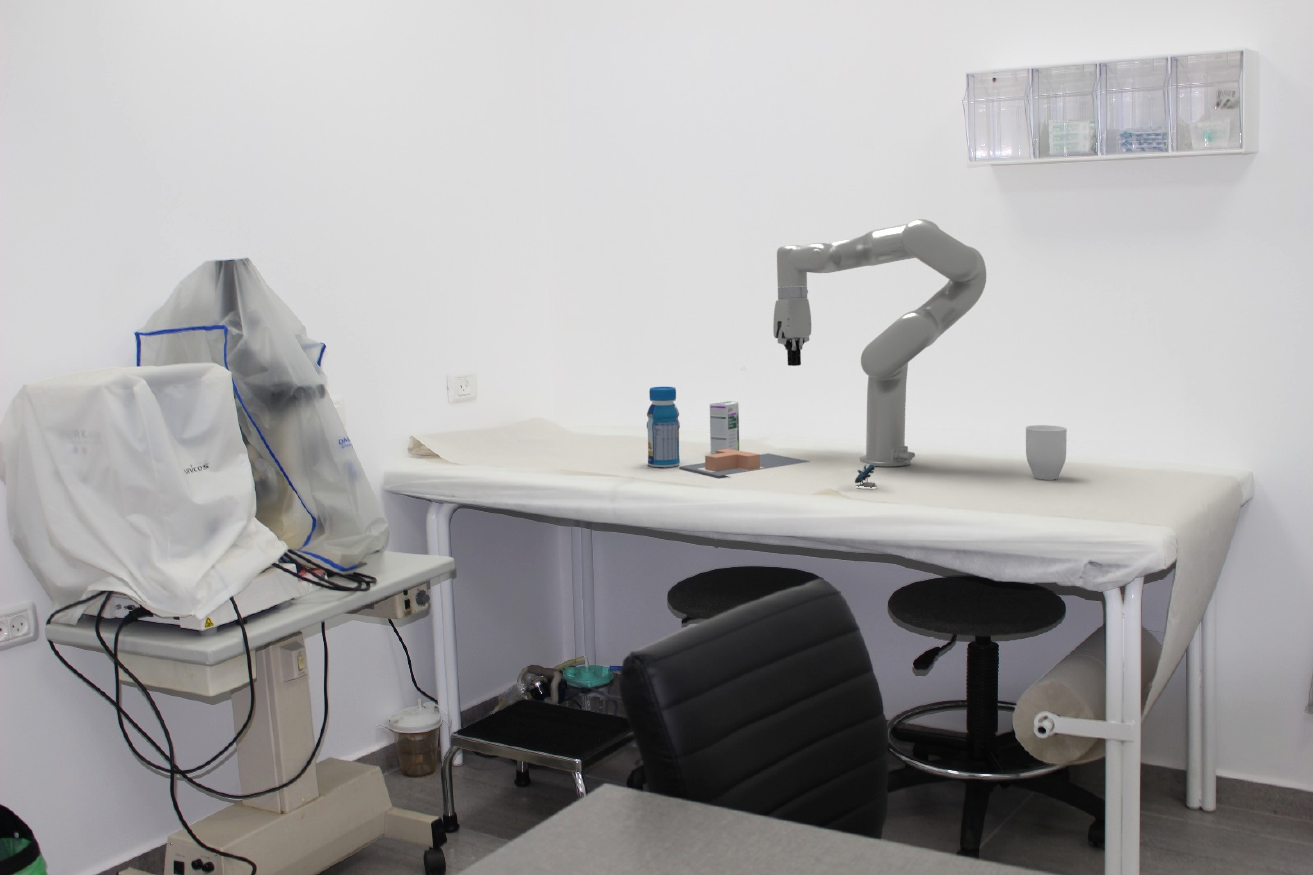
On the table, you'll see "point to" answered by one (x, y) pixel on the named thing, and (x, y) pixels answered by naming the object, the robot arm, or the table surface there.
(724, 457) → the tee
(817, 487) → the table surface
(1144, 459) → the table surface
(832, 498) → the table surface
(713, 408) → the syrup box
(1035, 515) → the table surface
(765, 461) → the mat
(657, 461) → the beverage bottle
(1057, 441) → the mug
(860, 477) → the sculpture
